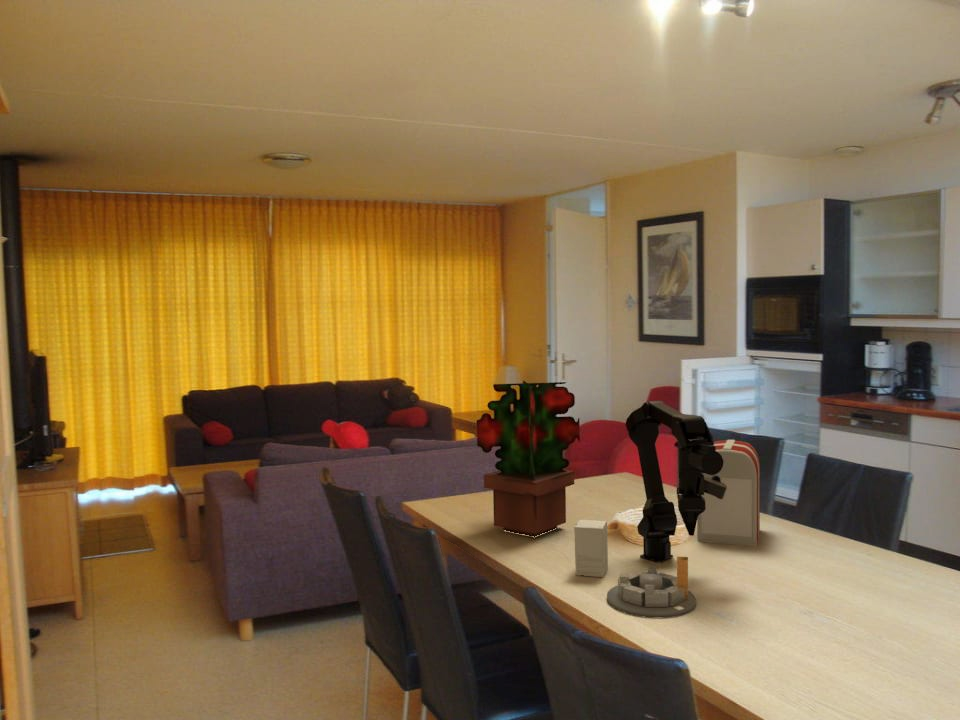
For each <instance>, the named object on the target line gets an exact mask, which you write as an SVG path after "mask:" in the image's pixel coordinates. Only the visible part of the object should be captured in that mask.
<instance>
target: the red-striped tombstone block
mask: <svg viewBox="0 0 960 720" xmlns="http://www.w3.org/2000/svg"><path fill="white" fill-rule="evenodd" d="M713 442H714V446H715V447H716V451H717V452H718V453H720V454H721V456H722V459H723V462H724V463H723V467H722V469H721V471H720V472H719V473H717V474H715V475H717V476H719V477H720V480H721V483H722V482H723V483H724V484H725V485H726V486H727V489H726V491H725V494H724V497H723V499H718V498H717V497H715V496H713V495H710V494H707V493H705V492H704V495H701V496H702V497H703V498H704V499H705V511H704V512H703V513H701V514H700V515H699V516H698V518H697V523H696V527H697V528H696V529H697V537H696V538H697V540H698V541H697V542H704V543H705V542H706V543H714V542H716V543H715V544H726V545H727V544H728V545H737V544H738V546H748V547H749V546H751V547H757V545H758V541H759V539H760V532H761V529H760V524H761V523H760V518H761V516H760V515H761V511H760V507H761V506H760V505H761V504H760V503H761V501H760V500H761V499H760V498H761V496H760V495H761V491H760V488H761V487H760V486H761V482H760V481H761V476H760V473H761V471H760V470H761V469H760V468H761V467H760V466H761V463H760V457H759V455H758V452H757V451H756V448H754V447H753V446H752V445H751V444H750V443H748V442H746V441H740V440H736V439H726V440H717V441H713ZM703 474H704V477H707V478H708V477H709V478H711V477H712V476H713V475H709V474H706V473H703ZM698 495H699V494H698Z"/></svg>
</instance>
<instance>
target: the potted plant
mask: <svg viewBox="0 0 960 720" xmlns="http://www.w3.org/2000/svg"><path fill="white" fill-rule="evenodd" d="M564 384H567V381H563V382H562V381H559V382H557V381H555V382H553V381H552V382H529V383H528V382H527V381H525V380H522V383H521V382H520V383H518V382H517V383H494V384H493V386H492V388H493V390H494V391H496V392H497V393H505V394H502V395H501V396H500V399H499V400H490V401H488V402H487V405H486V406H487V409H489V410H490V411H492V412H493V418H492V416H491V414H490V413H489V412H485V413H482V415H481V417H480V419H477V420H476V442H477V443H476V447H478V448H481V450H482V452H483V453H485V454H489V453H490V452H491V451H492V450H493V448H495V447H500V448H498V449H496V450H495V452H494V456H495V458H497V459H499V461H496V463H495V465H494V468H495V469H496V471H493V472H490V473H486V474H483V488H484V489H489V490H492V491H493V492H492V493H493V497H492V499H493V501H492V502H493V526H495V527H499V528H502V531H503V530H506V531H510V532H514V533H519V534H525V535H529V536H534V537H535V536H537V535H540V534H542V533H545V532H548V531H550V530H553V529H555V528H557V529H558V526H561V525H563V524H565V523H567V507H566V505H567V499H566V498H567V497H566V495H567V493H566V488H567V487H570V486H572V485H575V471H573V470H565V469H566V468H568V467H569V466H570V462H569V459H567V458H565V457H564V455H563V452H564V451H566V450H567V449H569V447H570V445H572V444H573V443H575V441H576V439H577V442H579V443H580V442H581V440H580V439H581V438H580V433H581V432H580V431H581V429H580V423H581V422H580V417H578V419H577V421H576V420H575V418H574V417H573V416H557V415H565V414H567V413H568V411H569V410H570V409H571V408H573V407H574V406H575V404H576V400H575V399H576V397H575V394H574V393H573V392H570V391H569V390H568V387H566V386H557V385H564ZM513 386H518V387H519V393H518V392H517V389H515V388H512V387H513ZM518 394H519V396H518ZM518 397H519V398H518ZM511 405H512V406H511ZM511 407H512V409H511ZM512 410H513V411H512Z"/></svg>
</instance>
